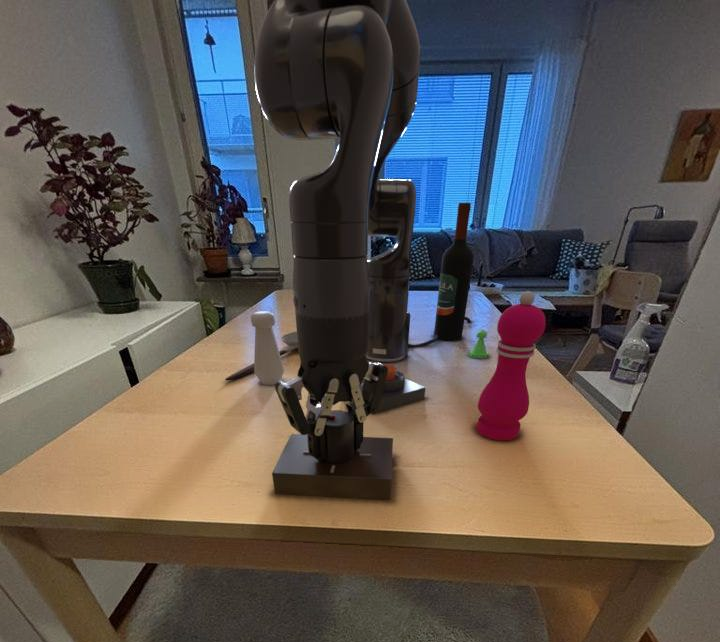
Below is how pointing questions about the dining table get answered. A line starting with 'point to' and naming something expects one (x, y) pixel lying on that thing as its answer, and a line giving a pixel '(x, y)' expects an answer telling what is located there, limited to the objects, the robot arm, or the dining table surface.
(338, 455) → the dial
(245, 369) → the spoon
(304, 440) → the dial panel
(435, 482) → the dining table surface
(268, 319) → the salt shaker
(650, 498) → the dining table surface
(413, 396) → the button block
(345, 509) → the dining table surface
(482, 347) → the game piece
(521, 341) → the pepper mill
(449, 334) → the wine bottle
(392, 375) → the button
